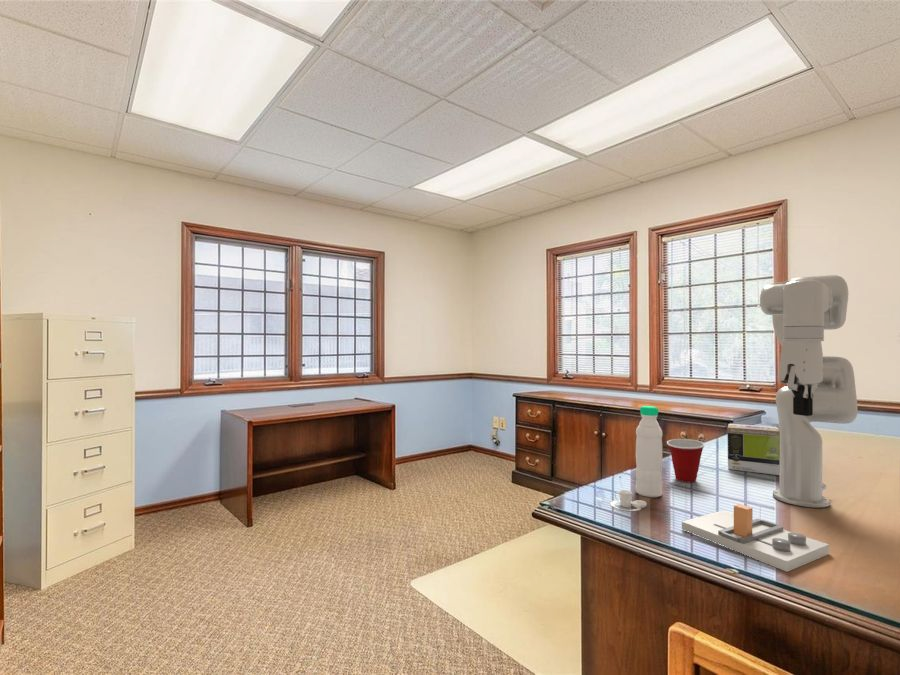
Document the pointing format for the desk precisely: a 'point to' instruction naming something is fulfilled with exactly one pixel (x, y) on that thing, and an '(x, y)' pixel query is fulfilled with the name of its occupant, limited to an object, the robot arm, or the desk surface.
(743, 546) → the console
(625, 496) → the white ring with post
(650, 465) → the water bottle
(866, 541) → the desk surface
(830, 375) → the robot arm
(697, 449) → the plastic cup
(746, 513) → the block
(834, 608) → the desk surface
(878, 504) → the desk surface
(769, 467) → the tea box
